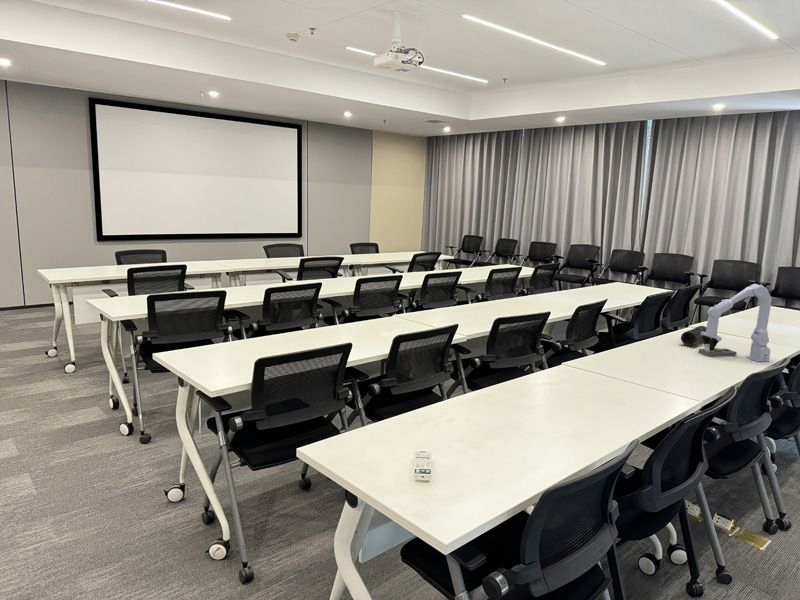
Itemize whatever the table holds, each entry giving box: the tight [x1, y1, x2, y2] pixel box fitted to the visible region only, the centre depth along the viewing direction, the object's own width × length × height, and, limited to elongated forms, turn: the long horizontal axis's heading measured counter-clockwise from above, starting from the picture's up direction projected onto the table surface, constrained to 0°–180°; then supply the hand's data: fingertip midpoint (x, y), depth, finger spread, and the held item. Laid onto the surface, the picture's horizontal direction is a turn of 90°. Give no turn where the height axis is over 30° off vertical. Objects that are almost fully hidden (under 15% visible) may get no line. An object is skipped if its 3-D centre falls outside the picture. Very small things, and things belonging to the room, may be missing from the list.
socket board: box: [697, 347, 738, 357], centre depth 321 cm, size 8×19×3 cm, turn 100°
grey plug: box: [703, 344, 714, 352], centre depth 320 cm, size 4×4×6 cm
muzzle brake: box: [680, 325, 707, 348], centre depth 346 cm, size 10×28×10 cm, turn 134°
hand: (709, 349), depth 320 cm, fingers closed on grey plug, 4 cm apart
